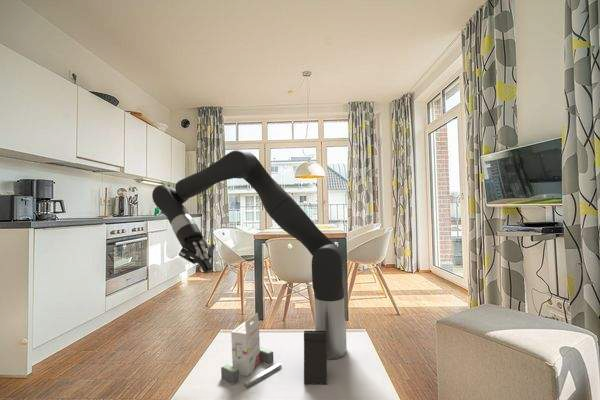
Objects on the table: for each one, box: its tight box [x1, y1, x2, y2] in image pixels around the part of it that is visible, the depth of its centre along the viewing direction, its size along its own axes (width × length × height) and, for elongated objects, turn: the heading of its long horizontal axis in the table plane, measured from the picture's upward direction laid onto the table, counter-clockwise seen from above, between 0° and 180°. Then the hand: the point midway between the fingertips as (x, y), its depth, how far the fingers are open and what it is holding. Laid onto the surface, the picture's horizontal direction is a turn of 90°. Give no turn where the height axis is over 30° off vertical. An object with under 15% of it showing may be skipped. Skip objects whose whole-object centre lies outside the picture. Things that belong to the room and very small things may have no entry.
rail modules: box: [220, 346, 275, 385], centre depth 95 cm, size 15×5×3 cm, turn 141°
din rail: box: [243, 362, 282, 389], centre depth 91 cm, size 13×1×1 cm, turn 141°
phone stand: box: [303, 330, 328, 385], centre depth 91 cm, size 9×6×12 cm, turn 174°
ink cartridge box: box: [230, 312, 261, 376], centre depth 96 cm, size 9×5×15 cm, turn 163°
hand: (209, 271), depth 106 cm, fingers closed
